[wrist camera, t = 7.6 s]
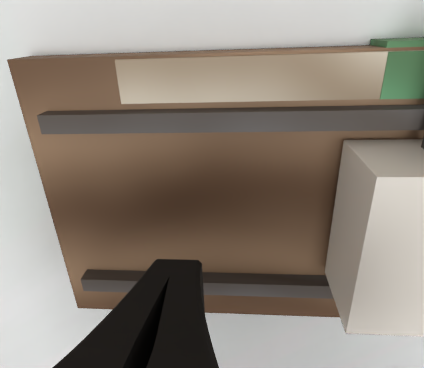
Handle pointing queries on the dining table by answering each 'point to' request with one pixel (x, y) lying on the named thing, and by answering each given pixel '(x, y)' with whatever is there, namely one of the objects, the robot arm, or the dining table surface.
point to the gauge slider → (379, 238)
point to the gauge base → (210, 161)
